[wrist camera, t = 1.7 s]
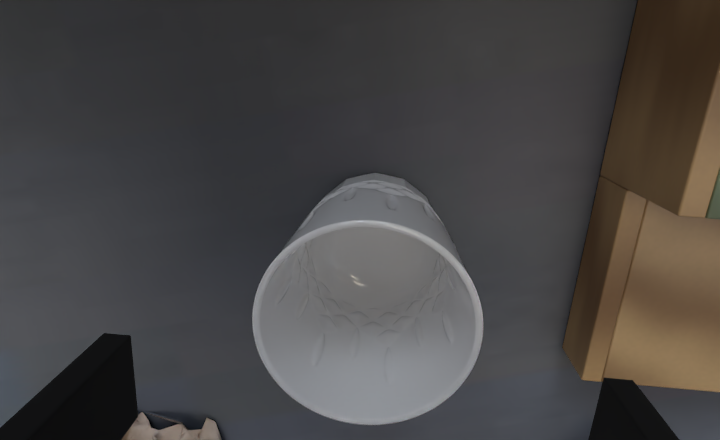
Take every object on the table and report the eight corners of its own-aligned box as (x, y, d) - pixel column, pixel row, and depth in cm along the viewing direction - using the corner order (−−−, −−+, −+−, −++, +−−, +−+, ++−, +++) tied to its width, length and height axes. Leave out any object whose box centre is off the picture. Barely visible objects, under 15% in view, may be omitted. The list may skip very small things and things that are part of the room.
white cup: (323, 310, 27) (288, 440, 18) (285, 179, 25) (221, 248, 16) (461, 285, 26) (500, 407, 17) (433, 145, 24) (461, 197, 15)
